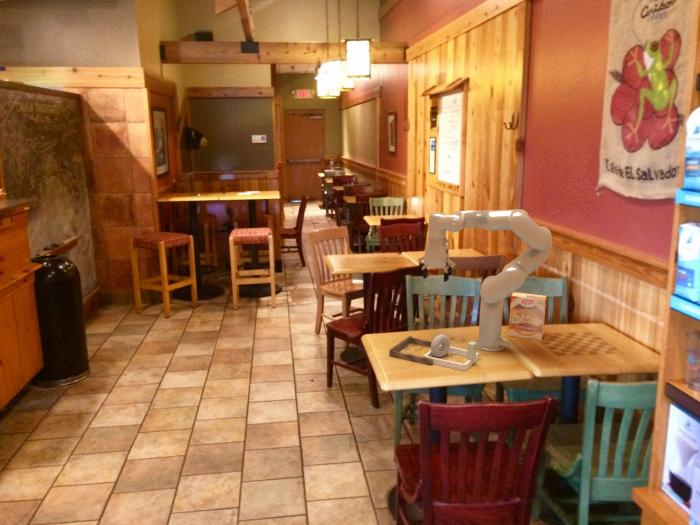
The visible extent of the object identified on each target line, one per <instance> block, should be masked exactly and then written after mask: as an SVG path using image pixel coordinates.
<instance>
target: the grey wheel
mask: <svg viewBox="0 0 700 525" xmlns="http://www.w3.org/2000/svg"><path fill="white" fill-rule="evenodd" d="M431 341H432V343H431V347H430V350H431V352H432V354H433V357H434V358H442V357H444V356H445V355H447V353H448V350H449V347H451V340H450V338H449V337H448V335H446V334H445V333H441V334H440V333H439V334H437V335H436V336H435V337H434V338H433V339H432V340H431ZM440 343H442V346H441V348H440V349H439V345H440Z"/></svg>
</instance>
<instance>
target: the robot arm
mask: <svg viewBox="0 0 700 525" xmlns="http://www.w3.org/2000/svg"><path fill="white" fill-rule="evenodd" d="M428 222H429V223H428V238H427V239H428V240H427V243H426V246H425V249H424V250H425V252H424V256H421V257H419V258H417V259H416V260H417V262H418V264H419V267H420V268H421V270H422V277H423V278H422V279H424V280H425V279H428V267H430V268H437V269H438V268H440V269H442V270H443V272H444V273H443V282H444V283H446V282H447V281H449V278H450V272H451V271H453V269H454V268H455V266H456V262H454V261H453V260H451V259H450V255H449V254H450V253H449V252H450V251H449V247H448V246H449V245H448V243H450V240H449V239H447V232H452V233H453V232H454V233H457V232H459V231H461V230H462V229H468V228H470V229H471V228H473V229H475V228H476V229H483V230H484V231H488V232H489V231H490V232H493V231H495V232H496V231H512V232H513V233H514V234H515V235H516V236H518V237H519V238H520V239H521V240H522V241H524V242H525V243H526V244H527V245H528V246H529V247H528V248H527V249H526V250H525V251H524V252H523V253H521V254H520V255H519V256H517V257H516V258H514V259H513V260H512V261H510V262H508V263H507V264H506V265H504V267H503V268H502V271H501V272H500V273H498V274H497V275H489V276H487V277H485V279H484V280H482V283H481V285H480V291H479V294H480V311H479V322H478V323H479V325H478V338H477V339H478V340H476V341H475V342H477V347H476V349H477V350H480V351H485V352H490V353H491V352H500V351H502V350H504V348H511V343H510V341H508V340H504V337H503V336H502V330H503V328H502V327H503V317H504V316H503V314H504V300H505V299H506V298H508V297H509V296H510V295H512V294H513V292H516V291H517V290H518V289H520V288H521V287H522V286H523V284H524V283H525V282H526V278H527V277H528V276H529V275H531V274H532V273H533V272H534V271H536V270H537V269H538V268H539V267H541V266H542V265H543V264H544V263H546V261H547V259H548V258H549V257H550V254H551V252H552V248H553V236H552V232H551V230H550V229H549V228H548V227H546V226H540V225H539V224H537V223H536V222H535V221H534V220H533V219H532V218H531V217H530V215H529V213H528V212H527V211H526V210H524V209H523V208H522V209H520V208H519V209H517V208H515V209H496V210H487V209H486V210H485V209H484V210H459V211H454V212H452V213H451V214H446V213H444V212H438V211H436V212H431V213H429V217H428ZM449 265H450V266H449Z"/></svg>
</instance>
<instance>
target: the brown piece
mask: <svg viewBox="0 0 700 525" xmlns="http://www.w3.org/2000/svg"><path fill="white" fill-rule="evenodd" d="M432 341H433V340H426V339H422V338H418V337H416V338H415V337H413V336H411V335H409V336H407V337H406V338H404V339H403V340H401V341H400V342H399V343H397V344H396V345H394V346H393V347H391V348H390V349H389V353H388V354H389V355H388V356H389V357H390V358H396V359H399V360H403V361H409V362H414V363H418V364H423V365H427V366H433V365H434V364H433V359H429V358H425V357H423V356H419V355H415V354H410V353H407V352H402V350H404V349H405V348H406V347H408V346H410V345H411V344H412V345H416V346H417V345H418V346H421V347H426V348H431V343H432ZM440 345H442V342H441V343H440Z"/></svg>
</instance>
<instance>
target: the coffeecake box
mask: <svg viewBox="0 0 700 525" xmlns="http://www.w3.org/2000/svg"><path fill="white" fill-rule="evenodd" d="M510 297H511V298H510V308H509V321H508V322H509V324H508V334H507V336H508V337H515V338H521V339H528V340H529V339H530V340H537V341H542V339H543V337H544V327H545V316H546V306H547V305H546V304H547V295H542V294H533V293H524V292H516V291H514V292H513V293H512V294H511V296H510Z"/></svg>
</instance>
